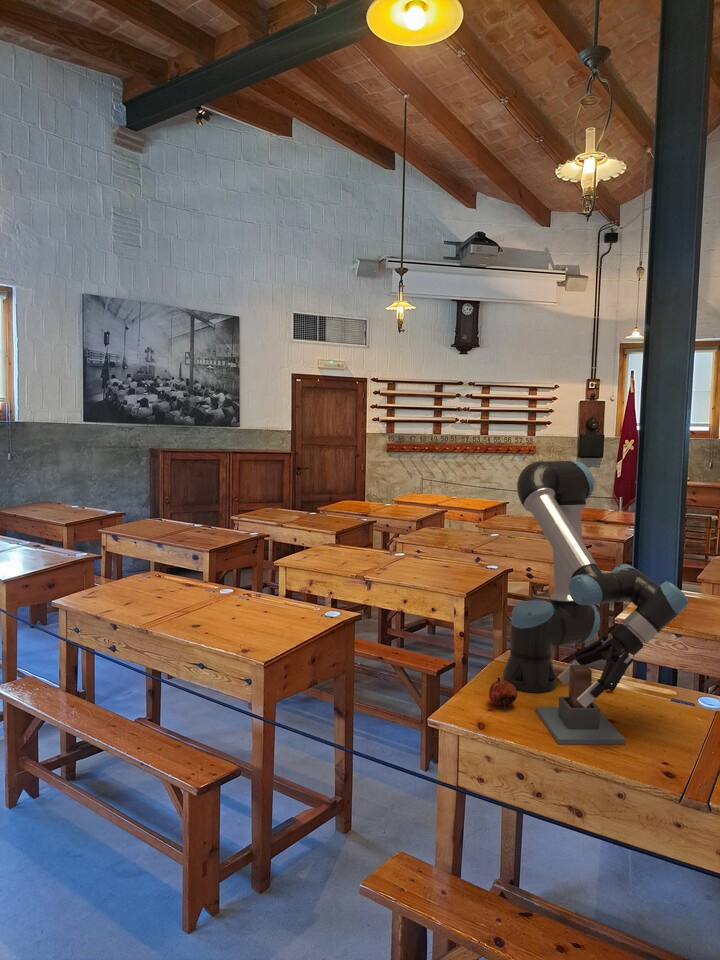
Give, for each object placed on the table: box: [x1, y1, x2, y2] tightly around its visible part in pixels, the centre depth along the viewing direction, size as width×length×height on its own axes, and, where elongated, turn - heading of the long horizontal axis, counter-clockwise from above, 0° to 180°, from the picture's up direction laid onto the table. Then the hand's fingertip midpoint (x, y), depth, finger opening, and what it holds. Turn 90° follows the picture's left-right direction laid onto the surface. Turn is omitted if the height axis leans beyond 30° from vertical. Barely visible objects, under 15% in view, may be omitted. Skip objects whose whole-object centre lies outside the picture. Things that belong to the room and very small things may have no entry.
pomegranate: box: [488, 677, 518, 712], centre depth 178 cm, size 7×7×10 cm
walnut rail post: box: [568, 664, 593, 708], centre depth 167 cm, size 4×4×14 cm
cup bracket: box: [535, 696, 626, 745], centre depth 167 cm, size 18×16×6 cm
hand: (570, 692), depth 166 cm, fingers open, 13 cm apart
